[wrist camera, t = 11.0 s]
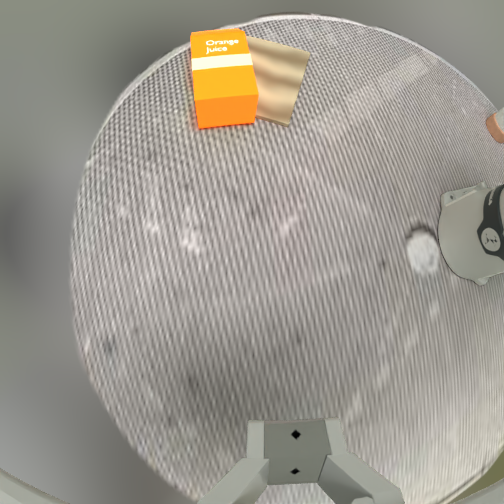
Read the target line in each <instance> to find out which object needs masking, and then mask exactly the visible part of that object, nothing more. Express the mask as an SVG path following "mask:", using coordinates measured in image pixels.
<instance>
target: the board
mask: <svg viewBox="0 0 504 504" xmlns="http://www.w3.org/2000/svg"><path fill="white" fill-rule="evenodd" d="M246 40H247V45H248V49H249V53H250V56H251V60H252V64H253V65H252V66H253V70H254V75H255V79H256V84H257V88H258V93H259V97H258V103H257V109H256V115H255V118H259V119H262V120H266V121H269V122H273V123H276V124H279V125H282V126H286V127H288V125H289V122H290V118H291V115H292V112H293V108H294V105H295V102H296V99H297V95H298V92H299V89H300V85H301V82H302V79H303V76H304V72H305V69H306V66H307V63H308V59H309V56H310V53H309V52H306V51H303V50H300V49H296V48H293V47H290V46H286V45H282V44H279V43H275V42H271V41H267V40H263V39H259V38H254V37H250V36H246Z"/></svg>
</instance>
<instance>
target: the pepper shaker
mask: <svg viewBox="0 0 504 504" xmlns="http://www.w3.org/2000/svg"><path fill="white" fill-rule="evenodd" d="M486 125H487V128H488V130H489V132H490V134H491V135H492V136H493V138H494V139H495V140H496V141H497V142H499V143H503V142H504V107H503V108H502V109H501V110H500V111H499V112H498V113H494V114H493V115H491V116H490V117H489V118H488V119H487V120H486Z"/></svg>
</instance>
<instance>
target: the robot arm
mask: <svg viewBox="0 0 504 504" xmlns="http://www.w3.org/2000/svg"><path fill="white" fill-rule="evenodd" d="M441 208H442V210H441V215H440V219H439V225H438V236H439V243H440V247H441V251H442V253H443V256H444V258H445V260H446V262H447V264H448V265H449V267H450V268H451V269H452V271H453V272H454V273H456V274H457V275H458V276H460V277H462V278H465V279H471V280H473V281H474V282H475V283H477V284H478V285H479V286H482V285H485V284H486V283H487V281H488V280H489V278H490V276H494V275H497V274H500V273H504V184H503V185H499V186H497V187H493V188H489V189H488V187H487V185H486V182H485V181H483V182H480V183H478V184H476V186H471V187H467V188H463V189H458V190H454V191H450V192H446V193H443V194H442V195H441ZM301 483H317V484H318V485H319V486H320V487H321V488H322V489H323V490H324V492H325V493H326V494H327V495H328V496H329V497H330V498H331V499H332V500H333V501H334V502H335V504H405V503H404V500H403V497H402V493H401V490H400V488H398V487H397V486H396V485H394V484H393V483H392V482H390V481H389V480H387V479H386V478H385V477H383V476H382V475H381V474H379V473H378V472H377V471H376V470H374V469H373V468H372V467H370V466H369V465H368V464H366V463H365V462H364V461H363V460H361V459H360V458H359V457H358V456H356V455H355V454H354V453H348V449H347V446H346V442H345V438H344V434H343V430H342V427H341V423H340V419H339V418H338V417H332V418H317V419H302V420H248V427H247V447H246V458H241V459H240V460H239V461H238V462H237V463H236V464H235V466H234V467H233V468H232V469H231V470H230V471H229V472H228V473H227V474H226V475H225V476H224V477H223V478H222V479H221V480H220V481H219V482H218V483H217V484H216V485H215V486H214V487H213V488H212V489H211V490H210V491H209V492H208V493H207V494H206V495H205V496H204V497H203V498H202V499H201V500H200V501H198V504H254V503H255V502H256V501H257V499H258V498H259V497H260V495H261V494H262V493H263V491H264V490H265V489H266V487H267V485H281V484H301ZM0 504H70V503H67V502H65V501H62V500H60V499H58V498H55V497H54V496H51V495H49V494H47V493H45V492H43V491H41V490H39V489H37V488H35V487H33V486H31V485H29V484H27V483H25V482H23V481H22V480H20V479H18V478H16V477H14V476H12V475H11V474H9V473H8V472H6V471H4V470H3V469H1V468H0ZM452 504H504V478H503V479H501V480H500V481H498V482H496V483H494V484H493V485H491V486H489V487H487V488H485V489H483V490H481V491H479V492H477V493H475V494H472V495H471V496H468V497H466V498H464V499H462V500H459V501H457V502H455V503H452Z"/></svg>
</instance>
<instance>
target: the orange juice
mask: <svg viewBox="0 0 504 504" xmlns="http://www.w3.org/2000/svg"><path fill="white" fill-rule="evenodd" d="M191 53H192V72H193V83H194V97H195V105H196V112H197V119H198V126H199V128H206V127H214V126H223V125H232V124H242V123H254V121H255V115H256V109H257V103H258V97H259V93H258V88H257V84H256V79H255V75H254V70H253V66H252V65H253V64H252V60H251V56H250V53H249V49H248V45H247V40H246V36H245V32H244V31H241V30H239V28H238V29H222V30H211V31H202V32H194V33H192V34H191Z"/></svg>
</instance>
